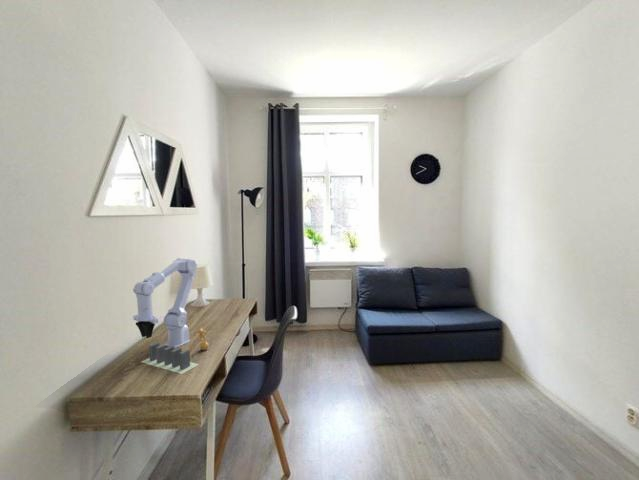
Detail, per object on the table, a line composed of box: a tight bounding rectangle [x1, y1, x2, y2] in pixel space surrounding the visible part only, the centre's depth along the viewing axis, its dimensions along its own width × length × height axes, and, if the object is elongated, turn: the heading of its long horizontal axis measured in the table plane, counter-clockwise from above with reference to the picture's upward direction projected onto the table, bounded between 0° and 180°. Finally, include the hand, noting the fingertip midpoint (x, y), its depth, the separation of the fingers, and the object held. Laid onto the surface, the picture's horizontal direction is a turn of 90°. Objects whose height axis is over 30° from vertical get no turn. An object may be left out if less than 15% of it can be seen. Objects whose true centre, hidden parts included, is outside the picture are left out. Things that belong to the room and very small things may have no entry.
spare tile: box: [156, 343, 168, 363], centre depth 138 cm, size 2×4×7 cm, turn 154°
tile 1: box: [148, 341, 160, 361], centre depth 141 cm, size 2×4×7 cm, turn 154°
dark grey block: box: [171, 347, 183, 368], centre depth 134 cm, size 2×4×7 cm, turn 154°
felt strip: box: [141, 357, 199, 375], centre depth 137 cm, size 9×26×1 cm, turn 64°
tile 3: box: [164, 346, 175, 365], centre depth 136 cm, size 2×4×7 cm, turn 154°
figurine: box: [193, 327, 211, 351], centre depth 149 cm, size 8×6×12 cm
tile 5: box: [179, 349, 191, 370], centre depth 132 cm, size 2×4×7 cm, turn 154°
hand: (146, 336), depth 142 cm, fingers closed
